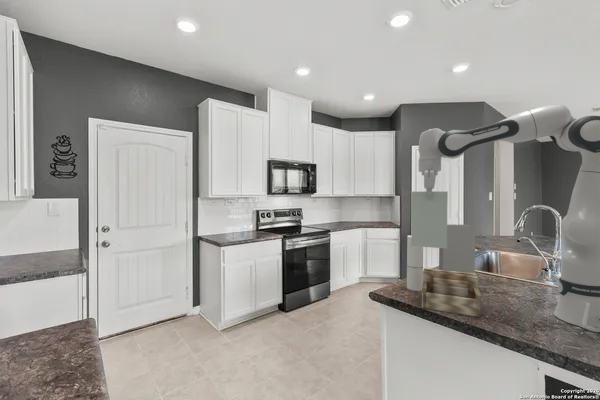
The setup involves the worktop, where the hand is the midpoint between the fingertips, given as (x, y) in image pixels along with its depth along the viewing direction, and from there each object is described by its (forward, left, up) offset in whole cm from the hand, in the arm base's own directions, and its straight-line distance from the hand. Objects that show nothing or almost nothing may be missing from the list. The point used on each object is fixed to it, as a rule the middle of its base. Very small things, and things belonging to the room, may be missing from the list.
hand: (429, 199), depth 121 cm
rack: (-8, +4, -43) cm, 44 cm away
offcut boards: (-8, +7, -43) cm, 44 cm away
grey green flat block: (0, 0, -21) cm, 21 cm away
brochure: (-12, -21, -43) cm, 50 cm away
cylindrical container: (+6, -10, -43) cm, 45 cm away
